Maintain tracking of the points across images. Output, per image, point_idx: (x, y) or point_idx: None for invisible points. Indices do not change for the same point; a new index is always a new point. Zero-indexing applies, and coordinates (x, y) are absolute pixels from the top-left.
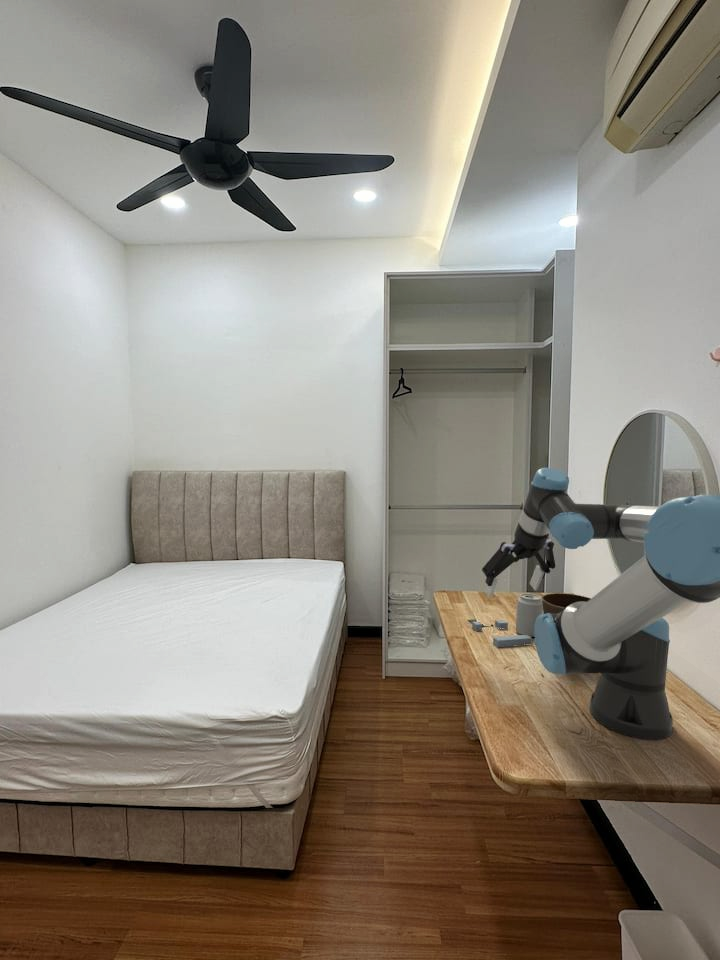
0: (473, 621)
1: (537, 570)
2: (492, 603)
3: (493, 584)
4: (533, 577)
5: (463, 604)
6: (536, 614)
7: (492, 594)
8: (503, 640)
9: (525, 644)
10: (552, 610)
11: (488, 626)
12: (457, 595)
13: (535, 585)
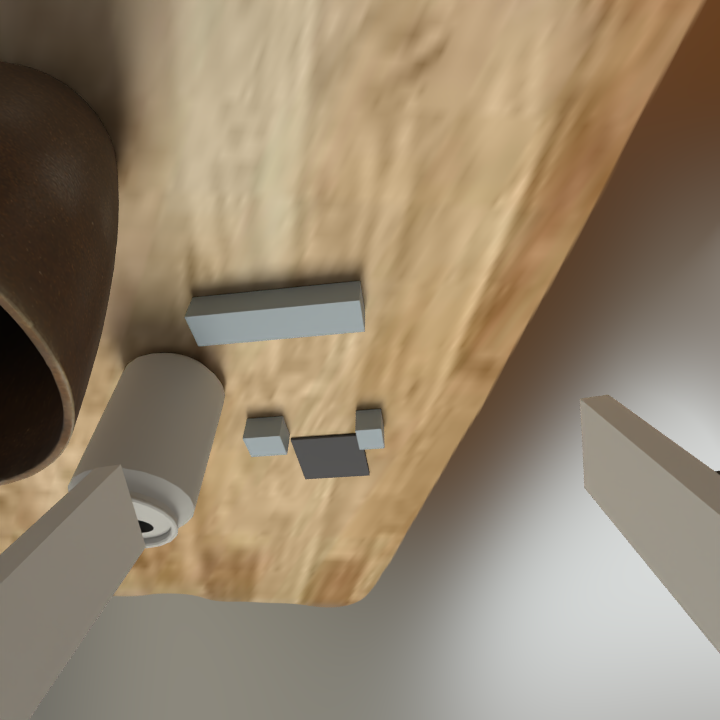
0: (354, 465)
1: (6, 686)
2: (232, 554)
3: (712, 476)
4: (93, 594)
5: (330, 552)
6: (125, 427)
7: (596, 408)
8: (331, 302)
9: (221, 296)
10: (18, 257)
11: (313, 436)
12: (322, 589)
13: (100, 505)
